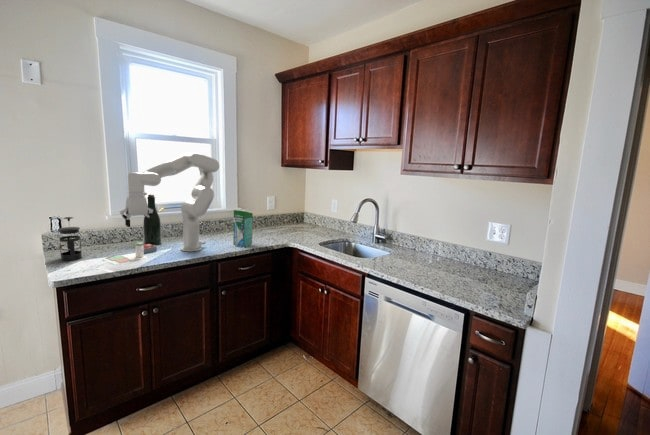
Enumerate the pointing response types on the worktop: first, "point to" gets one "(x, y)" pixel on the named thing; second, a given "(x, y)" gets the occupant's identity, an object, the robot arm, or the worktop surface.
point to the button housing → (150, 249)
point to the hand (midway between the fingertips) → (137, 225)
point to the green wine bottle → (152, 225)
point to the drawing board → (122, 258)
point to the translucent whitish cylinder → (139, 249)
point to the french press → (70, 243)
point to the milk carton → (242, 228)
